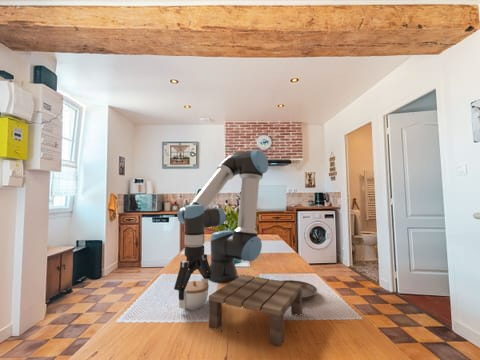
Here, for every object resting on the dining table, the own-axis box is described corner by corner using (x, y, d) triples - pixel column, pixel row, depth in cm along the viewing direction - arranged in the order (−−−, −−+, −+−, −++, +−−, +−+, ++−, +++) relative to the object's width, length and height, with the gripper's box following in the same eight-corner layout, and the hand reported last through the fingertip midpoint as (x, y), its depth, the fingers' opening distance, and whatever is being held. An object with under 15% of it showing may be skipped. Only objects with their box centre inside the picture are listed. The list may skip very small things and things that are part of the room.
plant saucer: (259, 290, 119) (259, 282, 119) (299, 284, 126) (299, 277, 126) (281, 309, 100) (281, 300, 100) (327, 301, 107) (327, 293, 107)
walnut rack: (242, 300, 108) (242, 274, 108) (302, 312, 97) (301, 284, 97) (208, 327, 87) (208, 295, 87) (280, 346, 76) (279, 310, 76)
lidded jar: (197, 298, 110) (197, 274, 111) (214, 306, 103) (214, 281, 103) (174, 306, 103) (174, 281, 103) (190, 315, 95) (190, 288, 96)
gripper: (204, 239, 116) (205, 288, 116) (164, 250, 94) (163, 312, 94) (219, 240, 113) (219, 291, 112) (180, 252, 91) (180, 316, 90)
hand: (194, 301), depth 103 cm, fingers open, 13 cm apart
